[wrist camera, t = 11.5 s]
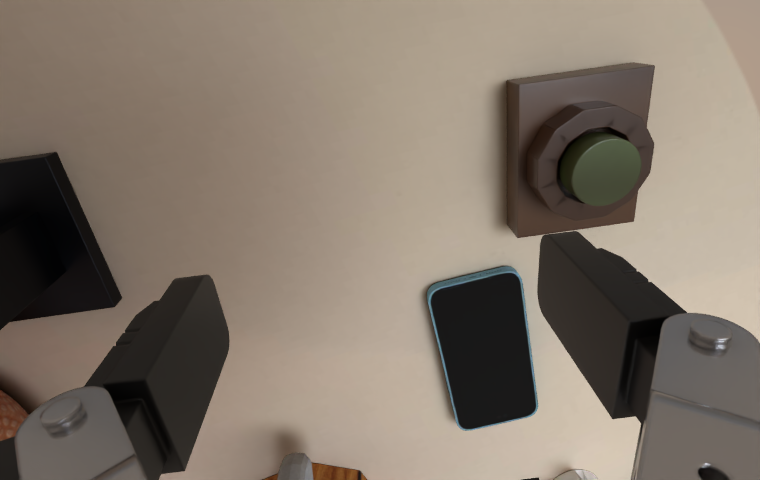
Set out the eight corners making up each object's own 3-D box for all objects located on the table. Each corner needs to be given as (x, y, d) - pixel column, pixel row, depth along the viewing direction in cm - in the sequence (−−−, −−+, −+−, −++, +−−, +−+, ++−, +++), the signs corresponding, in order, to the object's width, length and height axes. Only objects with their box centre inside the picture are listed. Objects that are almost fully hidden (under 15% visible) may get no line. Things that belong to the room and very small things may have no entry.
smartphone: (520, 267, 33) (539, 414, 39) (515, 260, 34) (535, 405, 40) (425, 290, 33) (458, 433, 40) (422, 283, 34) (456, 423, 41)
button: (560, 136, 26) (574, 143, 25) (628, 126, 26) (646, 133, 25) (557, 200, 28) (569, 211, 26) (621, 191, 28) (637, 201, 26)
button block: (506, 80, 28) (530, 88, 24) (633, 62, 28) (675, 67, 25) (506, 225, 32) (526, 250, 29) (616, 209, 33) (650, 232, 29)
